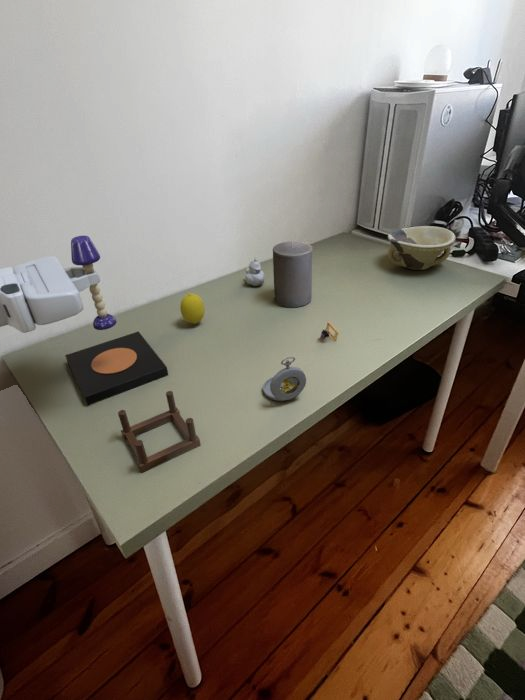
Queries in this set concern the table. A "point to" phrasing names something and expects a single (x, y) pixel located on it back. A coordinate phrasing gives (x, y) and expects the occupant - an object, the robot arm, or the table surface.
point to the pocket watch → (285, 383)
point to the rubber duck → (254, 273)
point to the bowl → (420, 246)
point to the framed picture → (328, 332)
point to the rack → (142, 427)
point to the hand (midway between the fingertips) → (96, 273)
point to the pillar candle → (292, 273)
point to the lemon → (192, 308)
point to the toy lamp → (86, 256)
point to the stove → (115, 367)
